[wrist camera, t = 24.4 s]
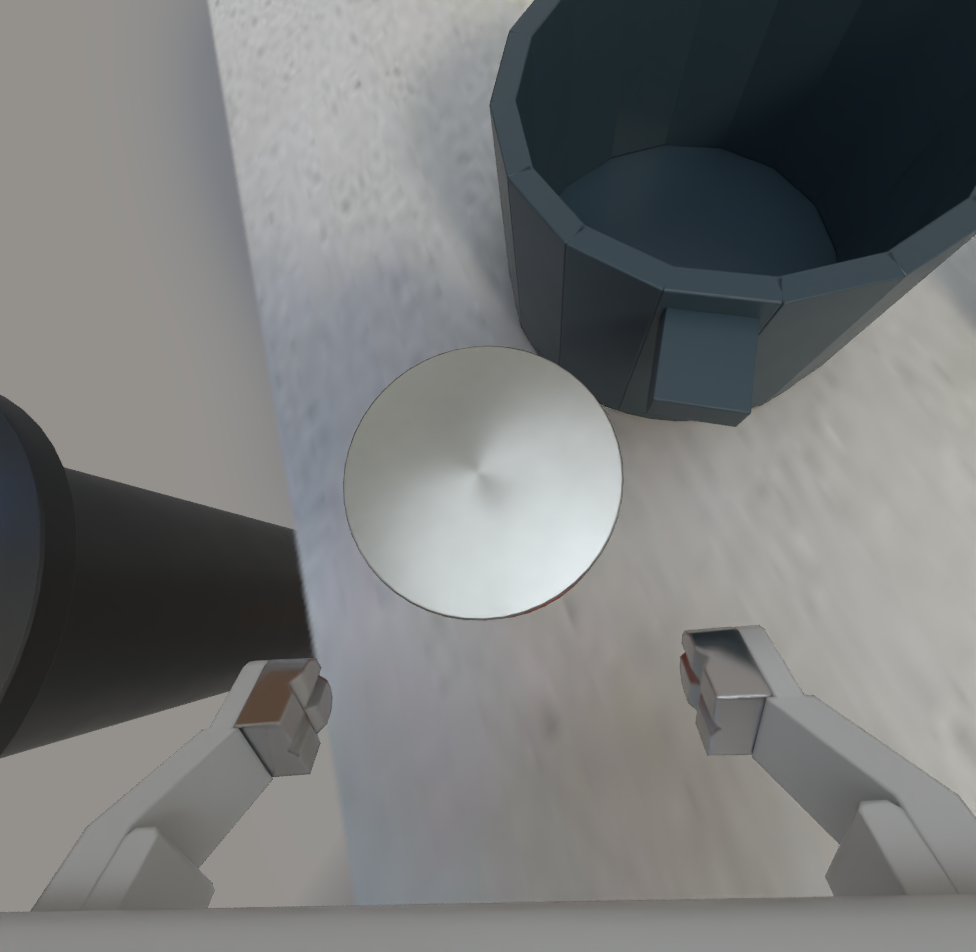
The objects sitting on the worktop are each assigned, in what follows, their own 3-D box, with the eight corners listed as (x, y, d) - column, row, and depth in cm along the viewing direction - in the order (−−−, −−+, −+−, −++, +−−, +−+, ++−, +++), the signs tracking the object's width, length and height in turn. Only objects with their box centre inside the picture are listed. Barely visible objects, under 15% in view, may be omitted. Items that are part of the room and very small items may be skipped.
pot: (471, 450, 21) (421, 354, 13) (553, 93, 25) (556, -149, 17) (836, 513, 18) (1068, 445, 10) (857, 106, 23) (1032, -170, 15)
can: (412, 591, 20) (305, 586, 11) (449, 438, 21) (381, 327, 12) (575, 628, 18) (600, 656, 10) (603, 465, 20) (645, 363, 11)
